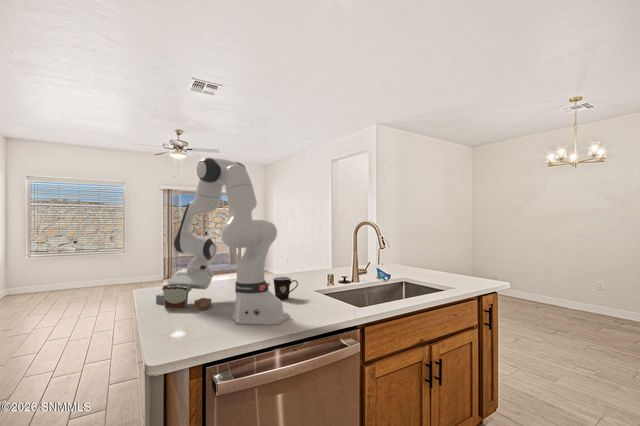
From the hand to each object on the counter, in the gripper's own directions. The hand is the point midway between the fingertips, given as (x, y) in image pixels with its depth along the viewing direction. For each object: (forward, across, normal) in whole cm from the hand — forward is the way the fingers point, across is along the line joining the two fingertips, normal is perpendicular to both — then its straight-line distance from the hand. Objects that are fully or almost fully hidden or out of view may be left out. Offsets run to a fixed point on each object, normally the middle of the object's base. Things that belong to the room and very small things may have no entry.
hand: (181, 295), depth 139 cm
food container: (+5, 0, +2) cm, 5 cm away
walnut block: (+4, +12, +3) cm, 13 cm away
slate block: (+2, -12, +5) cm, 13 cm away
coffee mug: (-14, +40, +22) cm, 48 cm away
